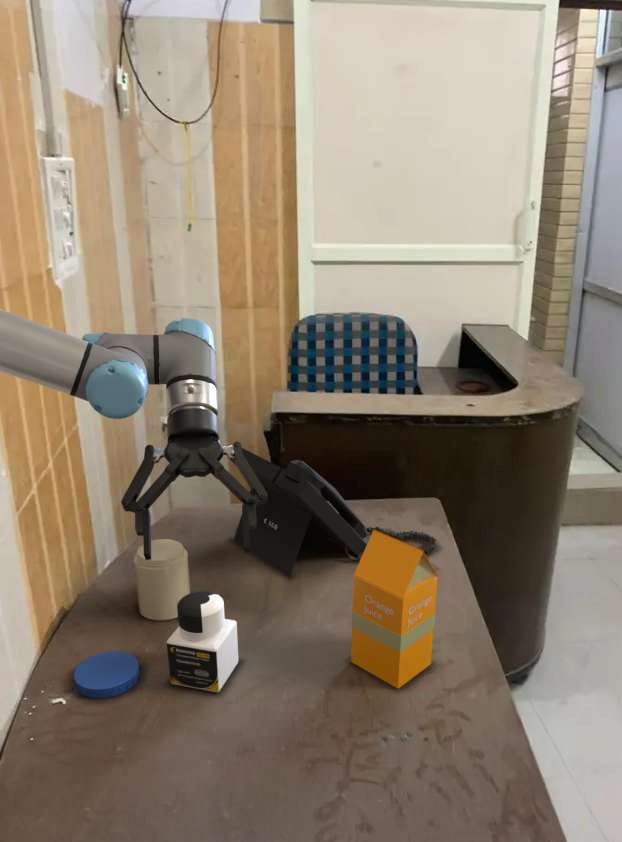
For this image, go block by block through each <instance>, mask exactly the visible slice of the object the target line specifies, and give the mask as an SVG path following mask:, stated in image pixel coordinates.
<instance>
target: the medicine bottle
mask: <svg viewBox="0 0 622 842" xmlns="http://www.w3.org/2000/svg"><path fill="white" fill-rule="evenodd" d="M177 612H178V617H177V621H178V627H177V628H176V629H175V631H174V632H173V633H172V634H171V636H169V638H168V639H167V640H166V649H167V650H166V651H167V662H168V671H169V682H170V684H171V685H175V686H180V687H185V688H192V689H197V690H202V691H208V692H212V693H220V691H221V690H222V688H223V687H224V685H225V683H226V682H227V680H228V679H229V678H230V676H231V675H232V673H233V671H234V670H235V668H236V666H237V665H238V664H239V642H238V623H237V621H236V620H235V619H228V618H225V603H224V599H223V597H221V595H219V594H218V593H216V592H213V591H208V590H198V591H193V592H191V593H190V594H187V595H186V596H184V597H183V598H182V599H181V600H180V601H179V602H178V604H177Z"/></svg>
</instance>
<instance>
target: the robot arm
mask: <svg viewBox="0 0 622 842" xmlns="http://www.w3.org/2000/svg"><path fill="white" fill-rule="evenodd" d="M216 351H217V350H216V348H215V339H214V333H213V331H212V329H211V327H210V326H209V325H208V324H207V323H205V322H204V321H201V320H199V319H196V318H190V317H188V318H186V317H182V318H181V319H180V320H177V319H175V320H173V321H171V322H169V323H168V324H167V325H166V327H165V329H164V332H163V333H161V334H139V333H138V334H137V333H114V332H108V331H104V332H98V333H97V332H96V333H86V334H84V335H83V336H82V337H81V338H80V337H77V336H75V335H72V334H68V333H65V331H61V330H58V329H55V328H52V327H51V326H48V325H45V324H43V323H39V322H37V321H34V320H32V319H29V318H27V317H23V316H21V315H18V314H15V313H13V312H9V311H6V310H4V309H1V308H0V372H1V373H4V374H7V375H11V376H13V377H16V378H19V379H21V380H24V381H26V382H27V381H28V382H31V383H34V384H36V385H39V386H42V387H44V388H45V387H46V388H49V389H51V390H54V391H58V392H60V393H63V394H66V395H69V396H72V397H75V398H78V399H81V400H83V401H86V402H88V403H89V405H90V406H91V408H93V410H94V411H95V412H96V413H98V414H100V416H102V417H105V418H108V419H113V420H122V419H126V418H130V417H131V416H133V415H135V414H136V413H137V412H139V411H140V409H141V408H142V407H143V405H144V403H145V401H146V398H147V396H148V394H149V393H148V392H149V386H150V385H151V386H152V385H153V386H154V385H155V386H156V385H157V386H158V385H159V386H160V385H165V401H166V416H167V418H166V439H167V442H166V446H165V448H162V447H161V448H160V447H154V446H153V444H147V445H146V446H145V447H144V453H143V459H142V461H141V463H140V465H139V467H138V469H137V470H136V472H135V475H134V476H133V478H132V480H131V481H130V483H129V486H128V488H127V489H126V491H125V493H124V495H123V497H122V499H121V502H120V503H121V506H122V509H123V511H125V512H127V513H128V512H130V513H134V531H135V533H136V535H137V537H141V536H143V544H144V557H145V559H146V560H151V541H152V518H151V512H150V508H151V507H152V505H153V504H155V502H156V501H157V500H158V499H159V498H160V497H161V495H163V493H164V492H165V491H166V489H167V488H168V487H170V485H171V484H172V483H173V482H175V481H176V480H177V478H179V477H180V476H182V477H184V478H185V479H186V478H193V477H199V478H204V477H206V478H207V476H208V475H210V474H211V476H213V477H214V478H215V479H216V480H218V481H219V482H220V483H221V484H223V486H225V488H226V489H227V490H228V491H230V492H231V494H233V495H234V496H235V497H236V498H237V499H238V500H239V501H240V502H241V503H242V504H241V516H242V518H243V535H244V547H243V549H244V550H243V551H244V554H250V553H251V551H250V535H249V529H255V528H256V525H257V519H256V507H257V506H258V505H261V504H265V503H266V502H267V495H268V494H267V492H266V490H265V489H264V487H263V486H262V484H261V483H260V481H259V479H258V478H257V476H256V475H255V473H254V471H253V470H252V468H251V467H250V465H249V463H248V462H247V460H246V459H245V457H244V456H243V452H242V448H243V447H242V444H241V442H240V441H234V442H233V443H232V444H231V445H224V446H223V445H222V444H221V439H220V420H219V417H218V415H219V402H218V401H219V400H218V399H219V398H218V390H217V389H218V387H217V386H218V385H217V384H218V383H217V357H216V353H217V352H216ZM224 456H228V457H229V458H228V457H227V458H228V460H229V461H231V460H235V464H236V465H235V464H234V465H235V466H236V467H237V469H238V471H239V473H240V474H241V476H242V477H243V479H244V480H245V482H246V484H247V485H248V487H249V489H250V490H252V492H253V493H254V496H253V495H252V494H251V493H250V490H247V488H245V486H244V485H242V483H240V482H239V480H238V479H236V478H235V477H234V476H233V475H232V474H231V473H230V472H229V470H227V469H226V468H225V466H224V465H223V464H222V463H221V462H220V461H221V460H222V459H223V457H224ZM163 458H164V459H165V460H166V461H167V462H168V464H167V465H166V466H165V468H164V469H163V472H162V473H160V475H159V476H158V477H157V478H156V479H155V480H154V482H153V483H152V484H151V485H150V486H149V488H147V490H146V491H145V492H144V493H143V494H142V495H141V492H142V491H143V489H144V488H145V485H146V483H147V482H148V480H149V478H150V476H151V474H152V472H153V470H154V467H155V465H157V464H159V463H160V461H161V459H163ZM140 495H141V496H140ZM139 496H140V497H139ZM138 498H139V499H138Z"/></svg>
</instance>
